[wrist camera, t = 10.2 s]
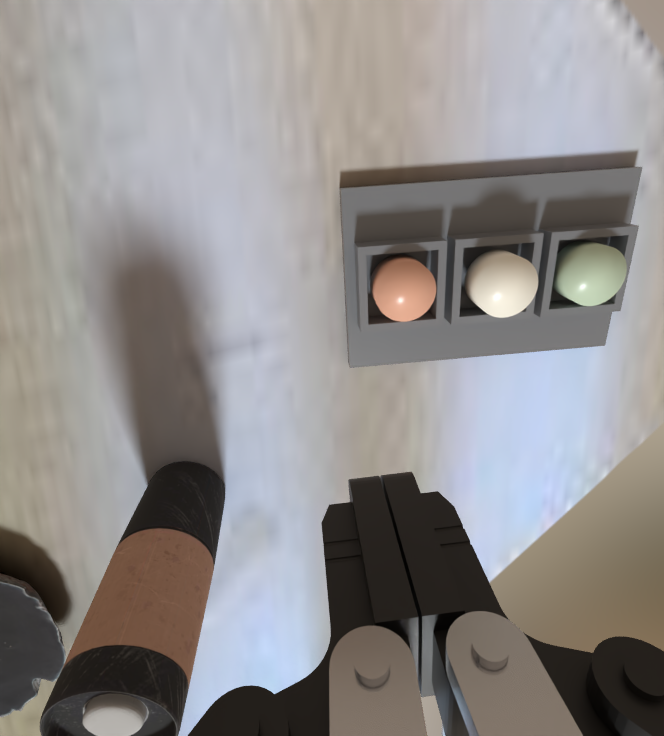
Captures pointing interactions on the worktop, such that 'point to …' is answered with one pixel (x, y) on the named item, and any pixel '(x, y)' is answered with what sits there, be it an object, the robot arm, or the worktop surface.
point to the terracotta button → (402, 288)
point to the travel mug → (144, 615)
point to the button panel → (468, 241)
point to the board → (25, 644)
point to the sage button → (589, 272)
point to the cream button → (501, 283)
